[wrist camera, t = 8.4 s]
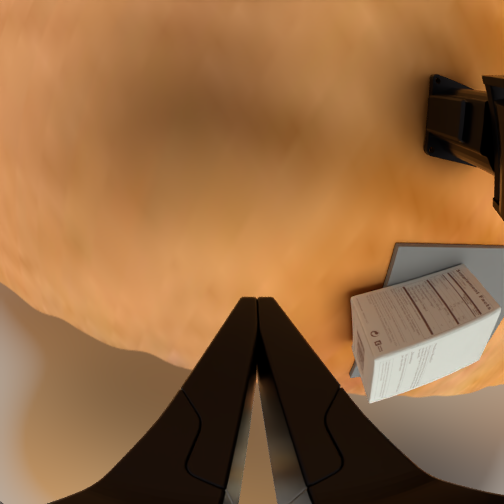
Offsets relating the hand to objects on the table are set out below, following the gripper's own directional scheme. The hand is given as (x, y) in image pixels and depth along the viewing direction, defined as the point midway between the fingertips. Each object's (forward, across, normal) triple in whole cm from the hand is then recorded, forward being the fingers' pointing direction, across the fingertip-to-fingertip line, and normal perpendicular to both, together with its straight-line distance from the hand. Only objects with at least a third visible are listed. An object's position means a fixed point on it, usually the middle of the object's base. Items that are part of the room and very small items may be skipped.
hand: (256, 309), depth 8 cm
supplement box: (+9, -9, +13) cm, 18 cm away
